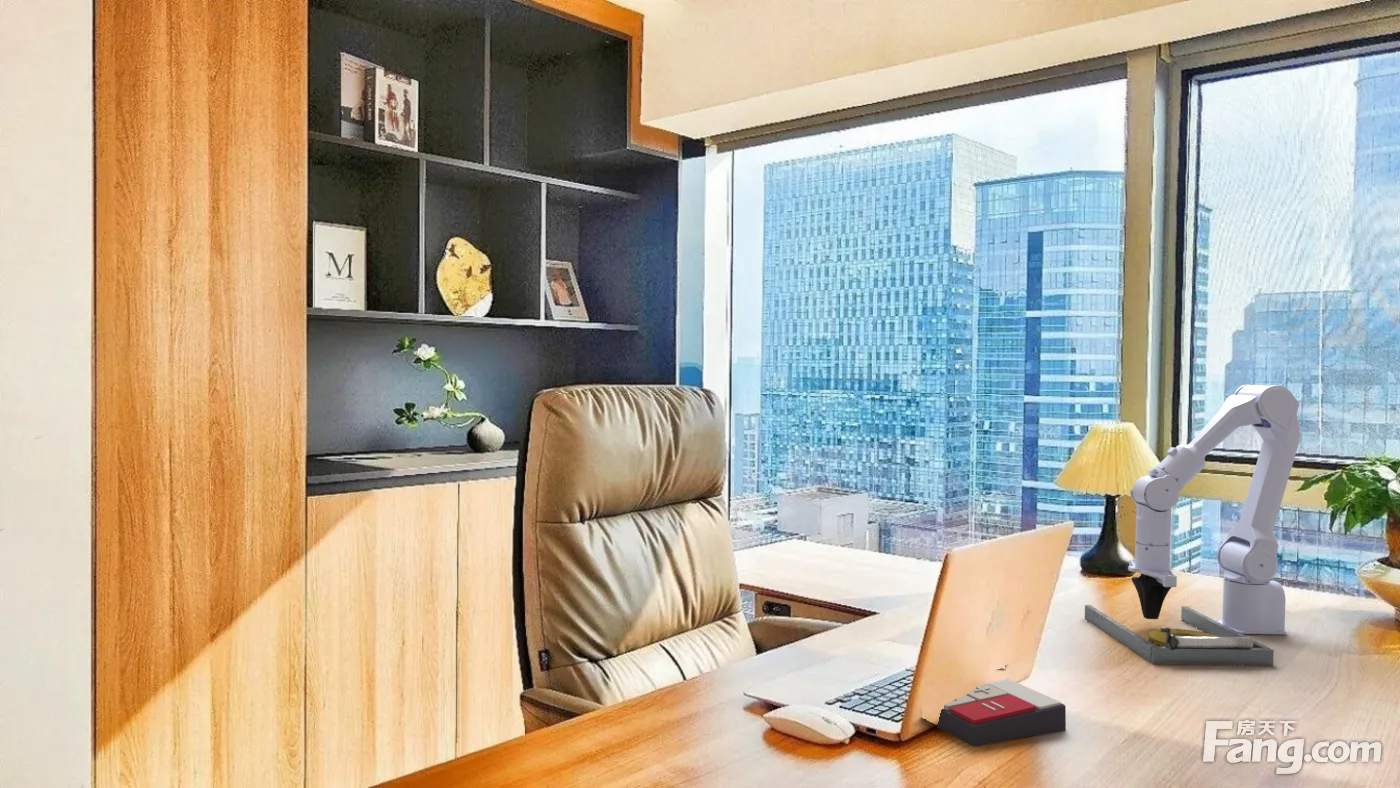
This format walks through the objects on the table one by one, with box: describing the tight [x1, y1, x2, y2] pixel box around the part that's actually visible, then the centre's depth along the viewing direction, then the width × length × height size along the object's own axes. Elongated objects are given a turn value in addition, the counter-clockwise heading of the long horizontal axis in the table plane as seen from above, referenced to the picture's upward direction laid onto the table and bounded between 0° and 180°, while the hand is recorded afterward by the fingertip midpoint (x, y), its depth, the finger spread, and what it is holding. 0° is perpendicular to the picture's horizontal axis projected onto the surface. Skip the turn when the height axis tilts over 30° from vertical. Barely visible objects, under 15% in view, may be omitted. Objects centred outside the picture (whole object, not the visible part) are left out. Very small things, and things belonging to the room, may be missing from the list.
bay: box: [1084, 604, 1275, 667], centre depth 170 cm, size 19×29×6 cm, turn 0°
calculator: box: [936, 678, 1067, 748], centre depth 129 cm, size 11×4×15 cm
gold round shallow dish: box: [1147, 628, 1219, 647], centre depth 165 cm, size 12×12×2 cm
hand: (1150, 618), depth 178 cm, fingers closed
